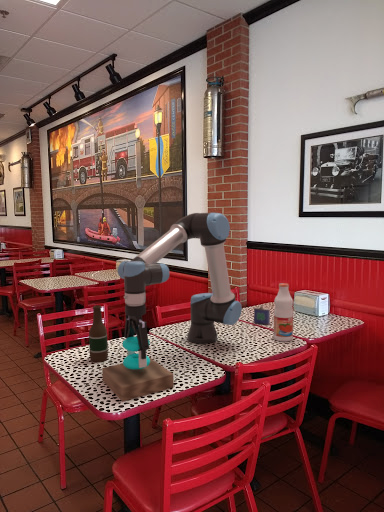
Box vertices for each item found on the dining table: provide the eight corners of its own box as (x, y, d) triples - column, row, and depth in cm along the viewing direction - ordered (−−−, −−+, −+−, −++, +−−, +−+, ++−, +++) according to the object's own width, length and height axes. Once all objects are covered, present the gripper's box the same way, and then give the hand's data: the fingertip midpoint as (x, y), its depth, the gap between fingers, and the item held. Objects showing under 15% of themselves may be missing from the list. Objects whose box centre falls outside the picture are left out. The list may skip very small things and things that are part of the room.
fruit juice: (284, 334, 204) (285, 281, 201) (296, 340, 195) (297, 284, 192) (269, 337, 200) (270, 283, 196) (281, 343, 191) (282, 286, 188)
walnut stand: (149, 369, 161) (149, 357, 160) (173, 387, 144) (173, 374, 143) (102, 380, 150) (102, 367, 150) (122, 401, 134) (121, 387, 133)
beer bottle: (88, 357, 174) (86, 304, 172) (106, 355, 177) (104, 303, 174) (90, 363, 167) (88, 308, 164) (109, 361, 170) (107, 306, 167)
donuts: (152, 335, 149) (145, 344, 140) (152, 360, 151) (146, 371, 141) (127, 334, 151) (118, 343, 141) (127, 359, 152) (119, 370, 142)
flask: (270, 324, 223) (270, 305, 222) (268, 325, 221) (268, 307, 219) (254, 322, 228) (254, 304, 226) (252, 323, 225) (253, 305, 224)
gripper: (114, 299, 151) (116, 355, 154) (138, 311, 132) (140, 374, 135) (132, 297, 155) (133, 351, 158) (158, 308, 136) (159, 370, 139)
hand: (136, 362), depth 146 cm, fingers closed on donuts, 10 cm apart
